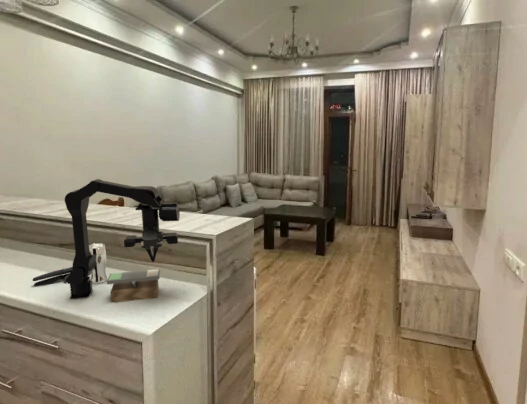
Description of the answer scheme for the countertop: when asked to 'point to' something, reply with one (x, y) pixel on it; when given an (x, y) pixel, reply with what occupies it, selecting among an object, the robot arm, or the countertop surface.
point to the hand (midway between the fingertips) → (153, 261)
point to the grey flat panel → (133, 276)
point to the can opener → (52, 274)
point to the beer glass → (98, 263)
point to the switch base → (134, 291)
